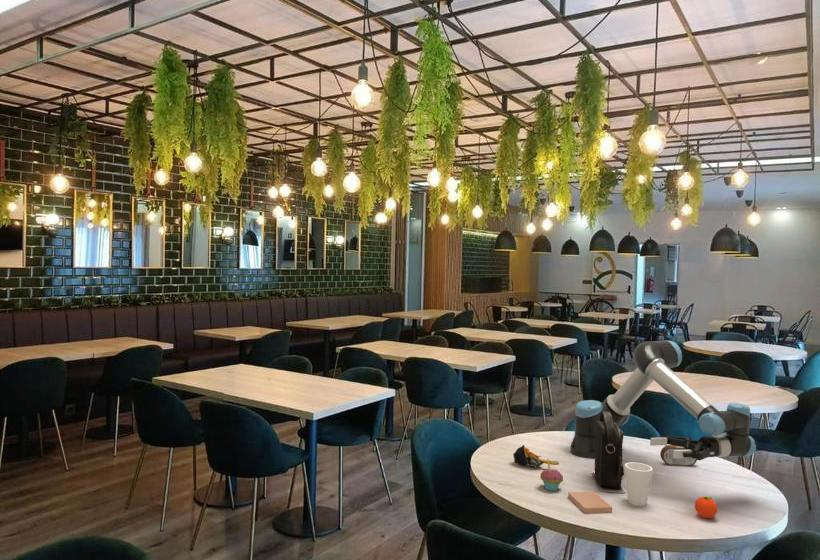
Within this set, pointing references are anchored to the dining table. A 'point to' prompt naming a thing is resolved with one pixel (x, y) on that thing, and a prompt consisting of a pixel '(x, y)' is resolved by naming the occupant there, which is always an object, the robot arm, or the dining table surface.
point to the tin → (668, 458)
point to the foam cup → (638, 482)
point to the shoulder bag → (608, 455)
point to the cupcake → (551, 478)
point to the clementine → (706, 507)
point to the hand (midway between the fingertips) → (661, 447)
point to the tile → (589, 502)
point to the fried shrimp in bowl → (529, 458)
